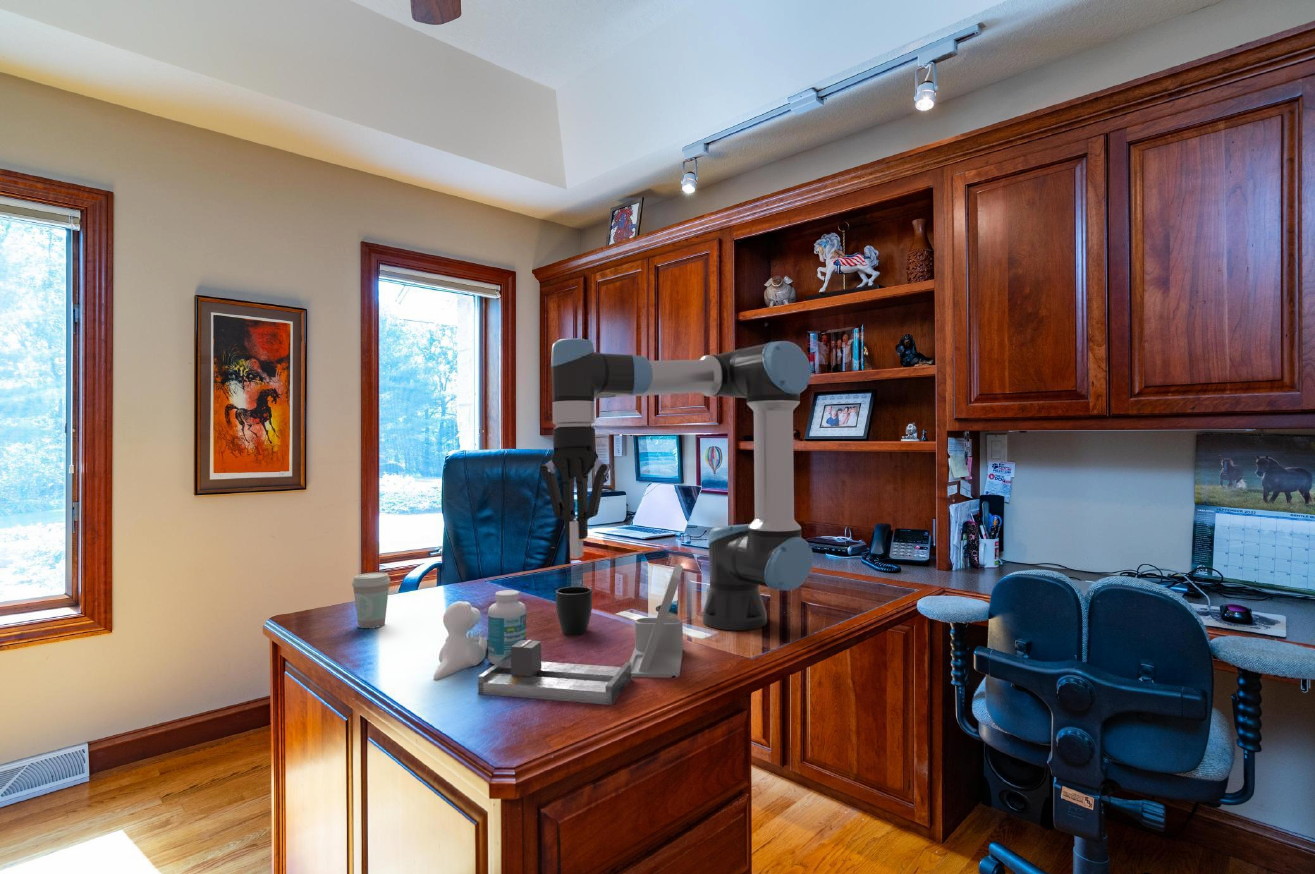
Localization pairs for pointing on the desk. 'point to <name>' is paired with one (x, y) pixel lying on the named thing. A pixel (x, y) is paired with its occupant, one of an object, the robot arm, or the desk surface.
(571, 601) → the mug
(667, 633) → the phone holder
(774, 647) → the desk surface
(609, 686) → the console
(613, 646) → the desk surface
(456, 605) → the figurine
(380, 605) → the coffee cup
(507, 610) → the pill bottle
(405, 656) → the desk surface
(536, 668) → the block
